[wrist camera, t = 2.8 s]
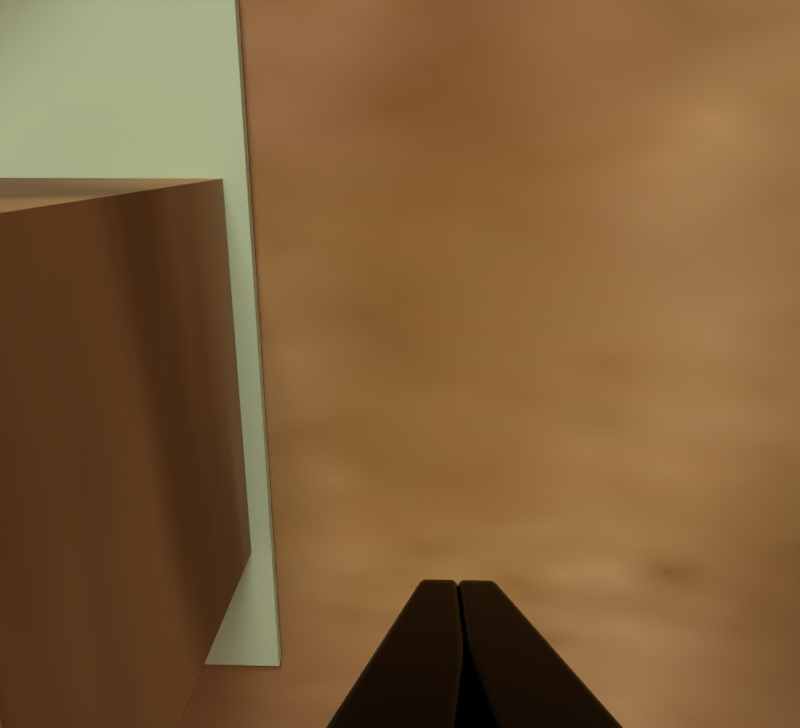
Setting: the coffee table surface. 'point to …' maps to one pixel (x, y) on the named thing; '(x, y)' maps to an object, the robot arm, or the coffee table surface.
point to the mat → (155, 158)
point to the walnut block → (115, 448)
